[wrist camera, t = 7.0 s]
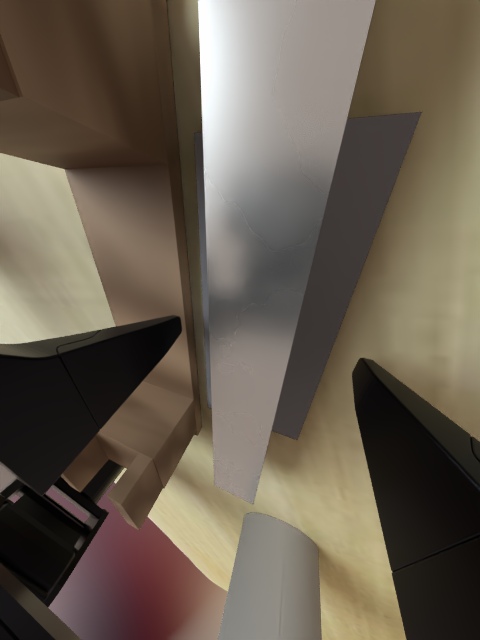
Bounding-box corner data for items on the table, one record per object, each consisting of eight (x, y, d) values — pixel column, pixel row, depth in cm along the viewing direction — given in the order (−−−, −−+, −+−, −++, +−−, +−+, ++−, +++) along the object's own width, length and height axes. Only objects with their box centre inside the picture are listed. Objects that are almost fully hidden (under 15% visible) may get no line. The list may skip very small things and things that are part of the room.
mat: (297, 434, 13) (297, 440, 12) (210, 403, 14) (207, 407, 14) (413, 120, 5) (421, 111, 5) (199, 137, 7) (193, 132, 7)
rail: (262, 457, 15) (253, 504, 12) (229, 443, 15) (214, 485, 13) (409, -181, 3) (738, -1498, 1) (256, -112, 4) (176, -661, 2)
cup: (244, 503, 21) (188, 749, 11) (325, 541, 19) (347, 907, 9) (244, 529, 25) (203, 725, 15) (310, 562, 23) (314, 827, 13)
